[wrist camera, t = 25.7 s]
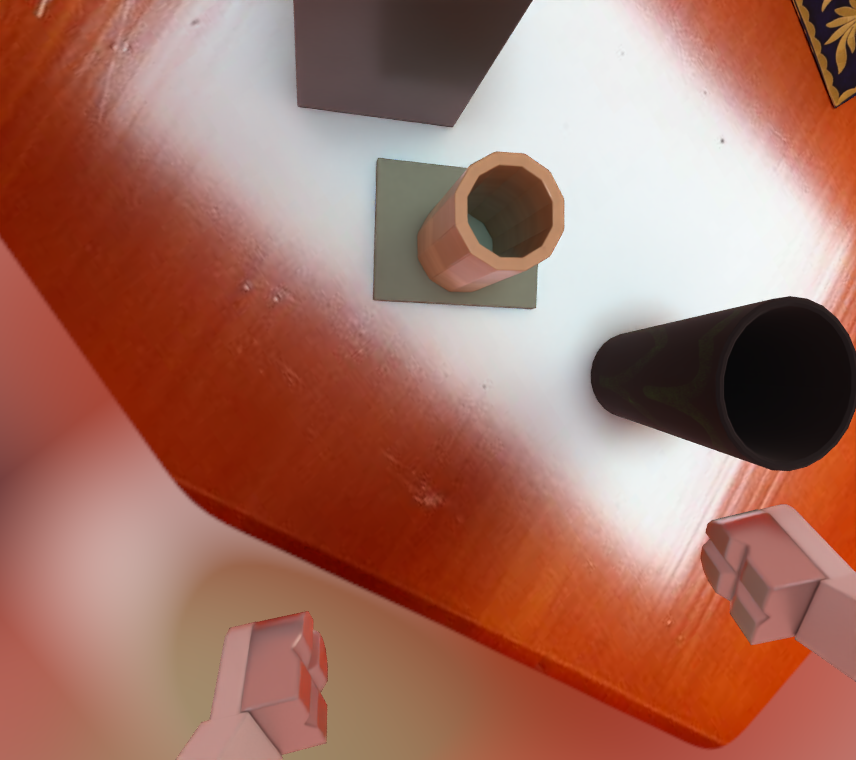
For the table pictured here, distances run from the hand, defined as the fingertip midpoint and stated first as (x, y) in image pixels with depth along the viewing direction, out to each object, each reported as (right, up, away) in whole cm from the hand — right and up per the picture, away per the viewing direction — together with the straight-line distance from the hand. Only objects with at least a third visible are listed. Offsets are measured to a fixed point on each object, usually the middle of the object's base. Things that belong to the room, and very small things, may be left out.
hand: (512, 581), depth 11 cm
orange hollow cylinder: (0, +12, +21) cm, 24 cm away
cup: (+12, +4, +24) cm, 27 cm away
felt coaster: (0, +13, +21) cm, 25 cm away
